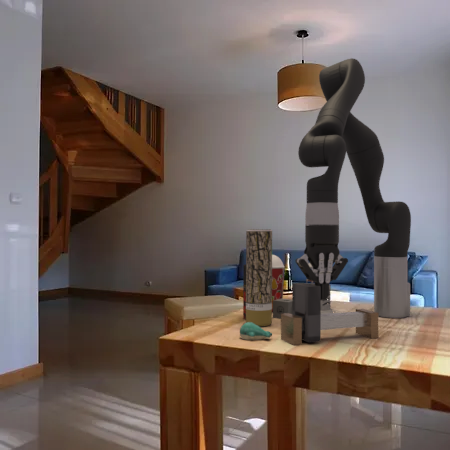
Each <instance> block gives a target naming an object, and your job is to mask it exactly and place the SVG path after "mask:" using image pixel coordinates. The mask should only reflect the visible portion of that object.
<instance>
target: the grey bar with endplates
mask: <svg viewBox="0 0 450 450" xmlns="http://www.w3.org/2000/svg"><path fill="white" fill-rule="evenodd" d="M349 328H350V329H351V328H352V329H353V328H355V334H357V335H360V336H363V337H365V338H369V339H379V316H378V313H377V312H374V310H369V309H364V308H356V309H355V311H347V312H345V311H344V312H333V313H325V314H321V331H323V330H325V331H326V330H337V329H339V330H340V329H349ZM302 331H305V314H304V315H293V314H290V313H283V314H281V319H280V340H282V341H284V342H285V343H288V344H290V345H292V346H300V345H302V342H303V340H302Z"/></svg>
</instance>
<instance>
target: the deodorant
mask: <svg viewBox="0 0 450 450" xmlns="http://www.w3.org/2000/svg"><path fill="white" fill-rule="evenodd" d="M242 267H243V276H242V279H243V283H242V284H243V287H242V288H243V289H242V291H243V296H242V299H243V300H242V301H243V302H242V304H243V306H242V307H243V308H242V310H243V312H242V314H243V315H242V319H243V320H244V321H246V263H245V264H243V266H242Z"/></svg>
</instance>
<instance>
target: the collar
mask: <svg viewBox="0 0 450 450" xmlns="http://www.w3.org/2000/svg"><path fill="white" fill-rule="evenodd" d="M307 283H308V282H294V283H292V285H291V286H292V289H291V290H292V297H291V300H292V314H293V315H304V314H305V331H302V341H304V342H306V343H308V344H309V343H317V342H318V343H319V342H321V335H322V333H321V331H322V330H321V286H316V285H311V284H307Z"/></svg>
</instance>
